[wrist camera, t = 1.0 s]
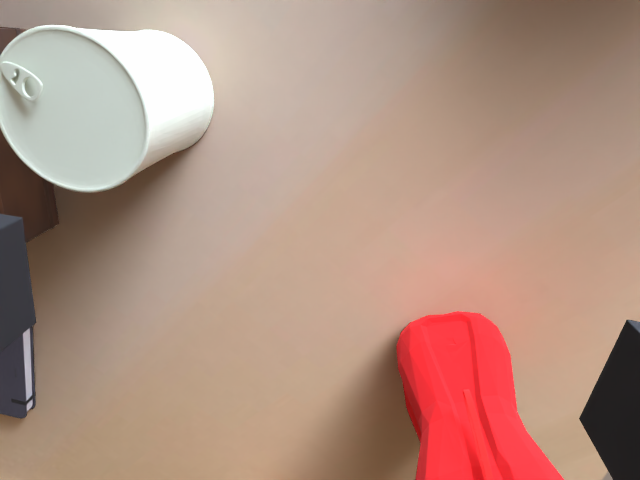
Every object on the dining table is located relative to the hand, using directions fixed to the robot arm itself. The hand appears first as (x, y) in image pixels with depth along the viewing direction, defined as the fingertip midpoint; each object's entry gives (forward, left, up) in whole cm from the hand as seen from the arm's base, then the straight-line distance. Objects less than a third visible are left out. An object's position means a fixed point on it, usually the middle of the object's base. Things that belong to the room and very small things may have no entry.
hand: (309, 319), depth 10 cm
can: (-1, -16, -28) cm, 32 cm away
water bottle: (+19, +10, -28) cm, 35 cm away
